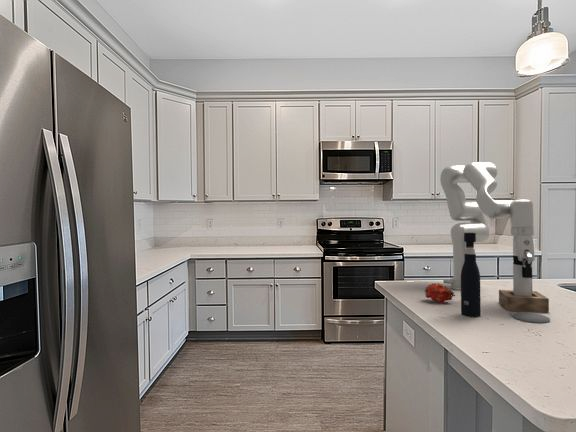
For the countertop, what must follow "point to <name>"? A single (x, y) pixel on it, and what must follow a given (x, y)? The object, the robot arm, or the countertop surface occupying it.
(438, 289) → the dragon fruit
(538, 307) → the mug holder
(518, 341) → the countertop surface
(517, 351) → the countertop surface
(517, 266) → the travel mug
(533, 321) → the coaster
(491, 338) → the countertop surface
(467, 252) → the black water bottle
